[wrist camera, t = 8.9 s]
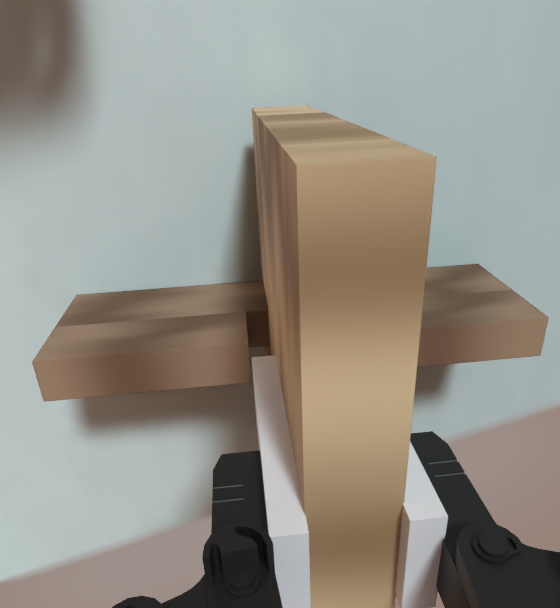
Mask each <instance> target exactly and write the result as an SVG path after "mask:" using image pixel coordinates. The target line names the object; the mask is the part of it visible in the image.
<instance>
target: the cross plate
mask: <svg viewBox="0 0 560 608" xmlns="http://www.w3.org/2000/svg"><path fill="white" fill-rule="evenodd" d="M252 119H253V136H254V154H255V171H256V188H257V205H258V222H259V240H260V257H261V272H262V277H263V282H264V287H265V293H266V298H267V303H268V315H269V334H270V346H267V347H266V356H272V355H275V356H276V361H277V367H278V372H279V378H280V383H281V388H282V394H283V399H284V405H285V410H286V416H287V421H288V427H289V432H290V438H291V443H292V449H293V454H294V460H295V465H296V470H297V476H298V481H299V487H300V492H301V498H302V503H303V509H304V514H305V515H306V520H307V526H308V531H309V560H310V602H311V608H394V606H395V596H396V594H395V588H396V577H397V566H398V554H399V543H400V531H401V520H402V509H403V503H404V500H405V489H406V479H407V468H408V457H409V447H410V436H411V425H412V415H413V404H414V393H415V383H416V372H417V362H418V351H419V340H420V330H421V319H422V308H423V298H424V287H425V276H426V266H427V255H428V244H429V234H430V223H431V212H432V202H433V191H434V180H435V170H436V159H437V157H436V156H433V155H431V154H428V153H426V152H423V151H421V150H418V149H415V148H413V147H410V146H408V145H405V144H403V143H400V142H398V141H395V140H393V139H390V138H388V137H385V136H383V135H380V134H378V133H375V132H373V131H370V130H368V129H365V128H363V127H360V126H358V125H355V124H353V123H350V122H348V121H345V120H343V119H340V118H338V117H335V116H333V115H330V114H328V113H325V112H323V111H320V110H318V109H315V108H313V107H310V106H308V105H306V106H285V107H264V108H252Z"/></svg>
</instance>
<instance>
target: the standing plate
mask: <svg viewBox="0 0 560 608" xmlns="http://www.w3.org/2000/svg"><path fill="white" fill-rule="evenodd" d="M548 318H549V317H548V316H546V315H545V314H544V313H542V312H541V311H540V310H538V309H537V308H536V307H534V306H533V305H532V304H530V303H529V302H528V301H526V300H525V299H524V298H522V297H521V296H520V295H518V294H517V293H516V292H514V291H513V290H512V289H511V288H509V287H508V286H507V285H505V284H504V283H503V282H501V281H500V280H499V279H497V278H496V277H495V276H493V275H492V274H491V273H489V272H488V271H487V270H485V269H484V268H483V267H481V266H480V265H479V264H471V265H458V266H445V267H432V268H426V276H425V287H424V298H423V308H422V319H421V330H420V340H419V351H418V362H417V367H423V366H433V365H444V364H455V363H466V362H477V361H488V360H498V359H509V358H520V357H531V356H541V351H542V346H543V341H544V337H545V332H546V327H547V323H548ZM269 345H270V334H269V315H268V303H267V298H266V293H265V287H264V282H263V281H251V282H238V283H225V284H212V285H199V286H187V287H174V288H161V289H148V290H135V291H122V292H109V293H96V294H83V295H76V296H75V298H74V300H73V301H72V303H71V304H70V306H69V307H68V309H67V310H66V312H65V313H64V315H63V316H62V318H61V319H60V321H59V322H58V324H57V325H56V327H55V328H54V330H53V331H52V333H51V334H50V336H49V337H48V339H47V340H46V342H45V343H44V345H43V346H42V348H41V349H40V351H39V352H38V354H37V355H36V357H35V358H34V360H33V361H32V364H33V367H34V370H35V374H36V377H37V380H38V384H39V387H40V390H41V394H42V397H43V400H44V401H55V400H66V399H77V398H87V397H98V396H109V395H120V394H131V393H142V392H152V391H163V390H174V389H185V388H196V387H206V386H217V385H228V384H239V383H250V382H251V371H250V358H249V347H257V346H269Z"/></svg>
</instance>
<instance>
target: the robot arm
mask: <svg viewBox="0 0 560 608" xmlns="http://www.w3.org/2000/svg"><path fill="white" fill-rule="evenodd" d="M251 358H252V371H253V384H254V397H255V410H256V423H257V434H258V445H259V451H250V452H240V453H231V454H222V455H221V457H220V458H219V460H218V462H217V464H216V466H215V468H214V469H213V498H212V501H213V504H212V534H211V536H210V537H209V539H208V540H207V542H206V544H205V545H204V551H203V564H204V570H205V575H204V576H203V577H202V579H201V580H200V581H199V582H198V583H197V584H196V585H195V586H194V587H193V588H192V589H190V590H188V591H187V592H185V593H183V594H182V595H179V596H177V597H175V598H173V599H171V600H168V601H166V602H164V603H162V604H161V603H160V602H158V601H157V600H156V599H155V598H150V597H145V596H138V597H132V598H128V599H126V600H124V601H122V602H120V603H118V604H116V605H115V606H114V607H112V608H311V602H310V560H309V531H308V526H307V520H306V515H305V514H304V509H303V503H302V498H301V492H300V487H299V481H298V476H297V470H296V465H295V460H294V454H293V449H292V443H291V438H290V432H289V427H288V421H287V416H286V410H285V405H284V399H283V394H282V388H281V383H280V378H279V372H278V367H277V361H276V356H275V355H272V356H261V357H251ZM437 591H438V592H439V594H440V597H441V599H442V601H443V604H444V606H445V608H560V552H554V551H548V550H542V549H537V548H533V547H530V546H527V545H524V544H522V543H521V541H520V540H519V539H518V537H516V536H515V535H514V534H512V533H511V532H510V531H509V530H507V529H506V528H503V527H501V526H499V525H497V524H496V523H495V522H494V520H493V518H492V517H491V515H490V513H489V512H488V510H487V508H486V507H485V505H484V504H483V502H482V501H481V499H480V497H479V495H478V493H477V492H476V490H475V489H474V487H473V485H472V484H471V482H470V480H469V479H468V477H467V475H465V474H464V470H463V469H462V467H461V465H460V464H459V462H457V459H456V457H455V455H454V454H453V452H452V450H451V449H450V447H449V445H448V444H447V443H446V442H445V441H443V440H442V439H441V438H440V437H438V436H437V435H436V434H435V433H433V432H432V431H431V432H422V433H412V434H411V436H410V447H409V457H408V468H407V479H406V489H405V500H404V503H403V509H402V520H401V531H400V543H399V554H398V566H397V577H396V588H395V594H396V596H397V600H398V603H399V606H400V608H430V607H435V605H436V598H437Z"/></svg>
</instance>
